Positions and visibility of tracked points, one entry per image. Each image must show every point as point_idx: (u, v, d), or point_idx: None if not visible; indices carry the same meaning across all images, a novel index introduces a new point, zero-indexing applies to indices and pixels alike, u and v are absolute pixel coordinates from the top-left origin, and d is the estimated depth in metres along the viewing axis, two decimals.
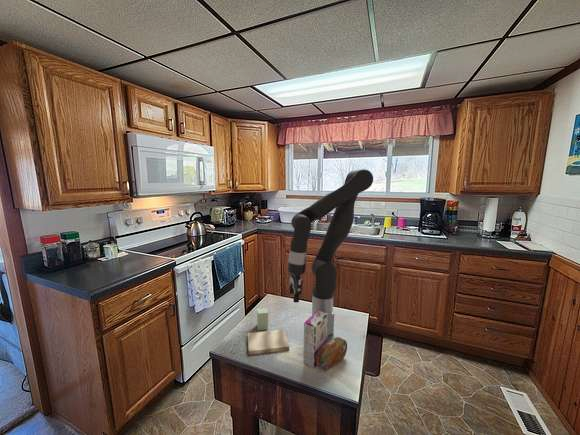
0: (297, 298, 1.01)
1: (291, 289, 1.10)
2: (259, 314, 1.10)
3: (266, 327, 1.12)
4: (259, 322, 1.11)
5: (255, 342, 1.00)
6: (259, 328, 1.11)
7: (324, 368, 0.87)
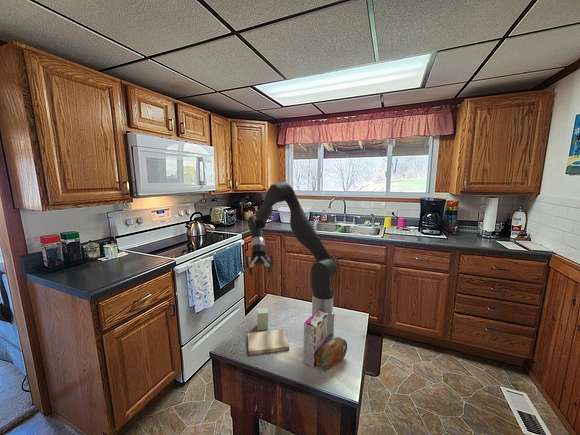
0: (249, 271, 1.23)
1: (267, 271, 1.26)
2: (259, 314, 1.10)
3: (266, 327, 1.12)
4: (259, 322, 1.11)
5: (255, 342, 1.00)
6: (259, 328, 1.11)
7: (324, 368, 0.87)
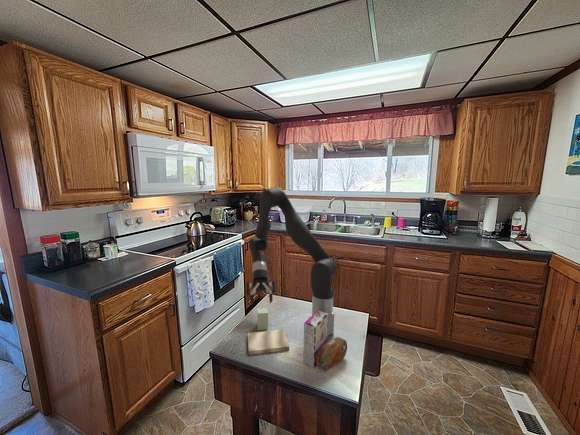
0: (250, 299, 1.17)
1: (269, 298, 1.20)
2: (259, 314, 1.10)
3: (266, 327, 1.12)
4: (259, 322, 1.11)
5: (255, 342, 1.00)
6: (259, 328, 1.11)
7: (324, 368, 0.87)
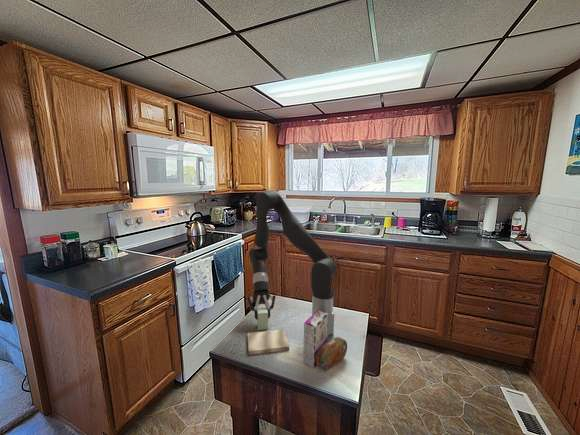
0: None
1: None
2: (259, 314, 1.10)
3: (266, 327, 1.12)
4: (259, 322, 1.11)
5: (255, 342, 1.00)
6: (259, 328, 1.11)
7: (324, 368, 0.87)
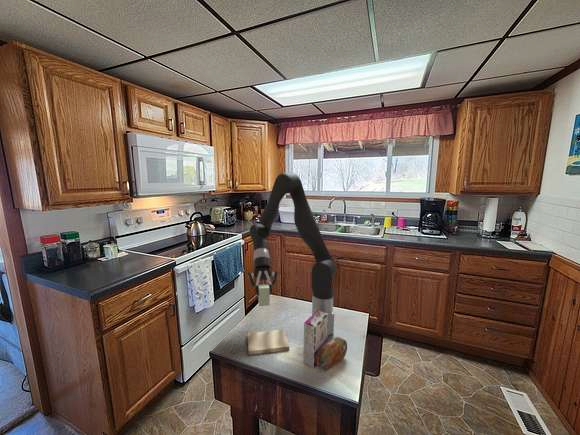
0: None
1: None
2: (260, 289, 1.06)
3: (268, 303, 1.07)
4: (260, 298, 1.06)
5: (255, 342, 1.00)
6: (260, 304, 1.06)
7: (324, 368, 0.87)
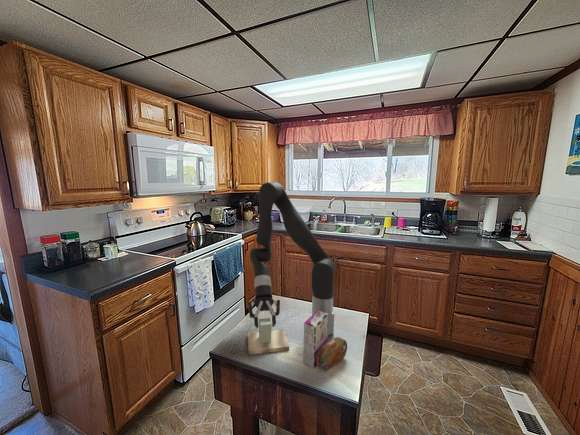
0: (254, 322, 1.00)
1: (272, 321, 1.02)
2: (262, 326, 0.99)
3: (269, 340, 1.00)
4: (262, 334, 0.99)
5: (255, 342, 1.00)
6: (262, 341, 1.00)
7: (324, 368, 0.87)
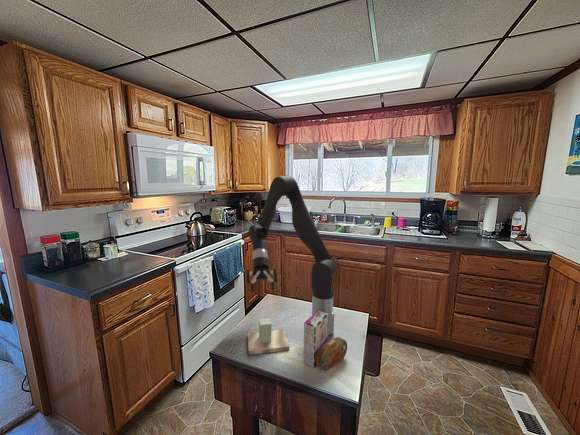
0: None
1: None
2: (262, 326, 0.99)
3: (269, 340, 1.00)
4: (262, 334, 0.99)
5: (255, 342, 1.00)
6: (262, 341, 1.00)
7: (324, 368, 0.87)
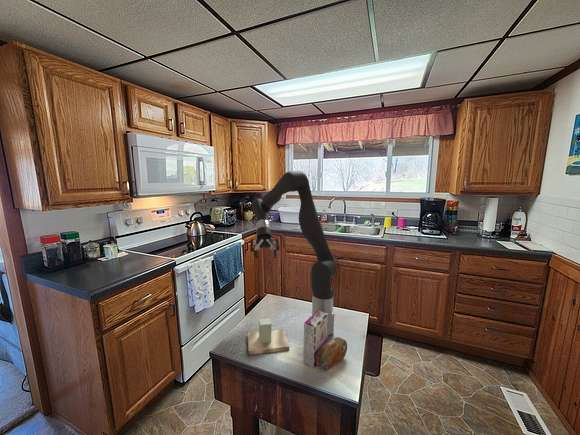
0: (254, 254, 1.17)
1: (273, 254, 1.19)
2: (262, 326, 0.99)
3: (269, 340, 1.00)
4: (262, 334, 0.99)
5: (255, 342, 1.00)
6: (262, 341, 1.00)
7: (324, 368, 0.87)
